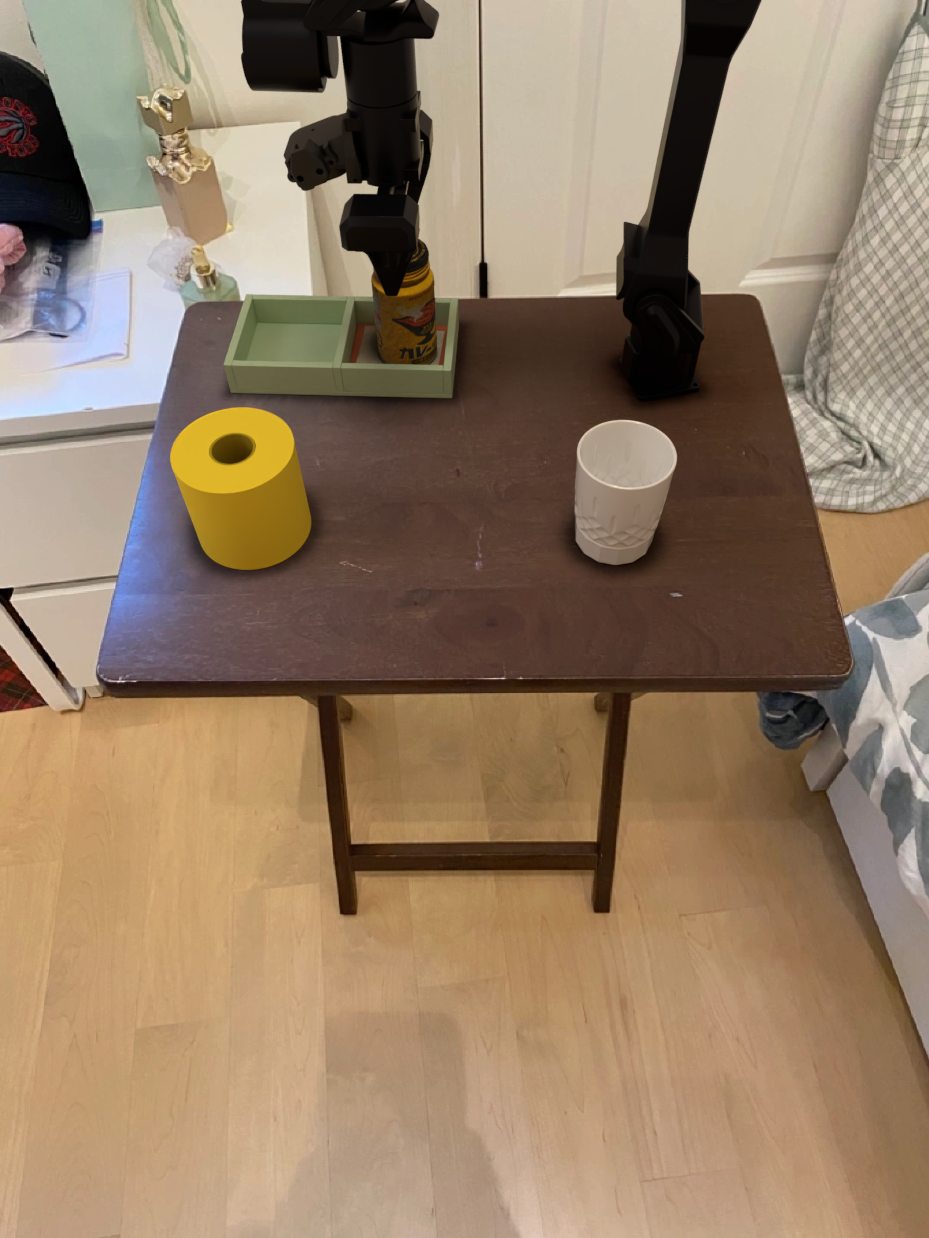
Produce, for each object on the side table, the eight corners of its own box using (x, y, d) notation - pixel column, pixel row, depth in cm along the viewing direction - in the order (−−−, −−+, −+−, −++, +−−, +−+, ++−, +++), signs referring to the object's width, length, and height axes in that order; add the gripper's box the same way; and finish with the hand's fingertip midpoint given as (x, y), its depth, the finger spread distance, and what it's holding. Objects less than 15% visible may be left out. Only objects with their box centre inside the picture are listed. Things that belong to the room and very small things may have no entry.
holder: (458, 326, 100) (458, 298, 97) (452, 398, 93) (451, 370, 90) (252, 322, 101) (245, 294, 98) (230, 393, 94) (223, 365, 92)
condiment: (436, 378, 94) (431, 272, 84) (353, 373, 95) (339, 267, 85) (445, 333, 98) (441, 227, 89) (365, 328, 99) (353, 223, 89)
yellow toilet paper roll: (209, 486, 87) (182, 408, 79) (316, 485, 86) (300, 406, 79) (189, 570, 81) (159, 494, 73) (305, 569, 81) (286, 493, 73)
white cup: (581, 578, 80) (592, 496, 71) (558, 511, 84) (565, 427, 76) (670, 563, 80) (691, 480, 72) (642, 497, 85) (658, 413, 77)
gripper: (301, 40, 81) (326, 210, 93) (261, 150, 70) (295, 326, 83) (429, 40, 80) (437, 211, 93) (409, 151, 69) (421, 328, 82)
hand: (396, 265), depth 88 cm, fingers open, 9 cm apart
